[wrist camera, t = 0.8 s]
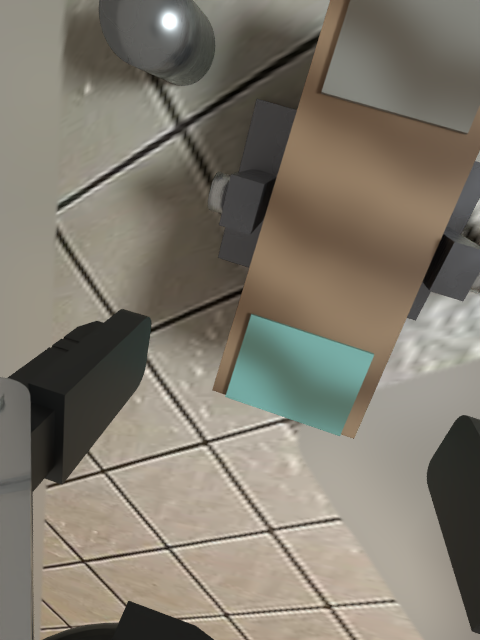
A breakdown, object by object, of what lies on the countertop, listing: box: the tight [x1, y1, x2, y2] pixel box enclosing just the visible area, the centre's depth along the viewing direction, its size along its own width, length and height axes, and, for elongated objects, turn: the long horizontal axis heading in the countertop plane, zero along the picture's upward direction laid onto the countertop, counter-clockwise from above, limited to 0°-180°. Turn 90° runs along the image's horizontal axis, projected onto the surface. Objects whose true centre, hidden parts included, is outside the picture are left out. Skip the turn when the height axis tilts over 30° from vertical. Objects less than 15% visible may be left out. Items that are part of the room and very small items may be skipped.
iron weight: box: [99, 0, 215, 86], centre depth 25 cm, size 5×5×7 cm
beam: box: [213, 0, 480, 439], centre depth 23 cm, size 25×10×2 cm, turn 165°
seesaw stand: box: [208, 99, 480, 320], centre depth 26 cm, size 12×17×9 cm
